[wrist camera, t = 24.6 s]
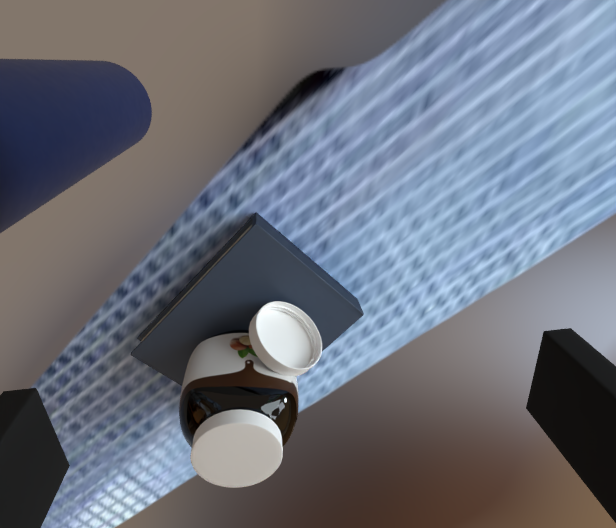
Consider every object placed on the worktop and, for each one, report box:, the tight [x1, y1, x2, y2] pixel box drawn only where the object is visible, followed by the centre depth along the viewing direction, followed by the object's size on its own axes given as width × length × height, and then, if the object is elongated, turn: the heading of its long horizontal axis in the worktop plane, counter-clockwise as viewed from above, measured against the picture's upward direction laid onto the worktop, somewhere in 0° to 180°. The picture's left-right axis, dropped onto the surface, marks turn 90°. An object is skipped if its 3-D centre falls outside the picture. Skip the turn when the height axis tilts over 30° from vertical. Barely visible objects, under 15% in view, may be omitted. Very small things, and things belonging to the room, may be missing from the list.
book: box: [131, 213, 364, 386], centre depth 42 cm, size 18×14×3 cm
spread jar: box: [179, 301, 322, 488], centre depth 36 cm, size 12×11×12 cm
